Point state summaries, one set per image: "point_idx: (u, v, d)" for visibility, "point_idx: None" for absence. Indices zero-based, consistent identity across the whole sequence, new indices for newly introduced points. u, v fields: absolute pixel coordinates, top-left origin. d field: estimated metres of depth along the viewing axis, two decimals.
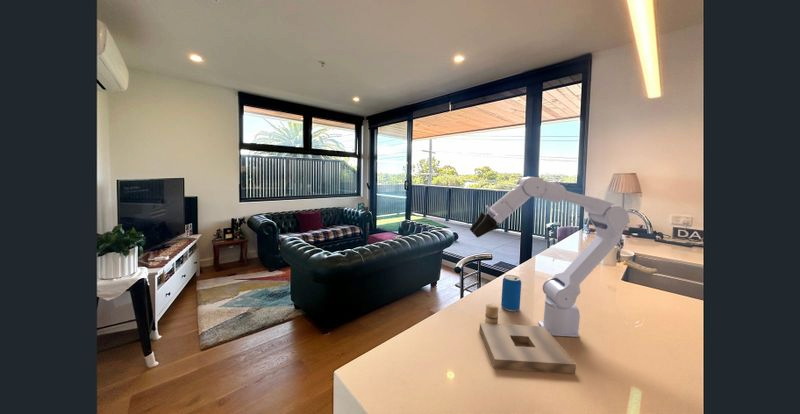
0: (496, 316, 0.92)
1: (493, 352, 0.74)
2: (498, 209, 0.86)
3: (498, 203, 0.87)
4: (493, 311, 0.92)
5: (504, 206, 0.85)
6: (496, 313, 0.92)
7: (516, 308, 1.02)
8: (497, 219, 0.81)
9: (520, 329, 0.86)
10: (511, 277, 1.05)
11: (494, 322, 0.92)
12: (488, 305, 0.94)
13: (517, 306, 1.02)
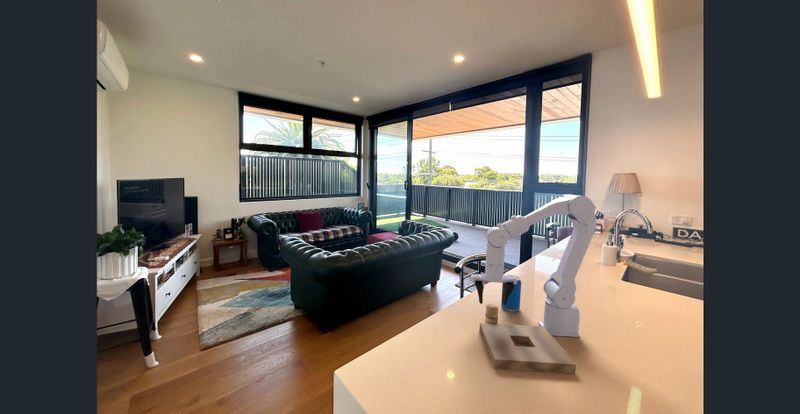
0: (496, 316, 0.92)
1: (493, 352, 0.74)
2: None
3: None
4: (493, 311, 0.92)
5: None
6: (496, 313, 0.92)
7: (516, 308, 1.02)
8: (471, 279, 0.93)
9: (520, 329, 0.86)
10: None
11: (494, 322, 0.92)
12: (488, 305, 0.94)
13: (517, 306, 1.02)
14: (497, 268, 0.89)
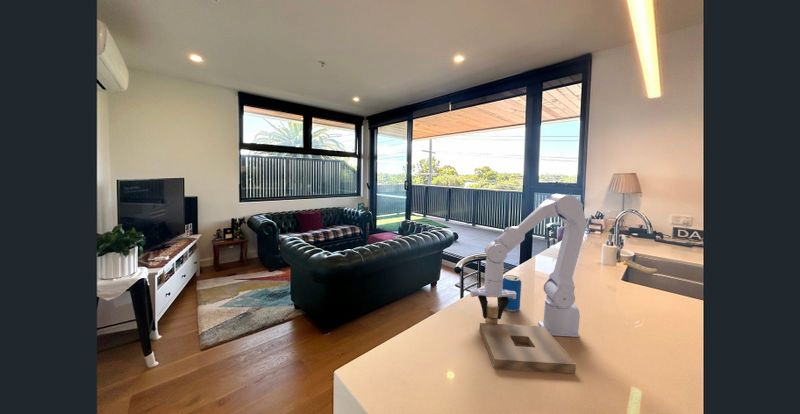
0: (496, 316, 0.92)
1: (493, 352, 0.74)
2: (484, 285, 0.94)
3: None
4: (493, 311, 0.92)
5: None
6: (496, 313, 0.92)
7: (516, 308, 1.02)
8: (470, 294, 0.93)
9: (520, 329, 0.86)
10: (511, 277, 1.05)
11: (494, 322, 0.92)
12: (488, 305, 0.94)
13: (517, 306, 1.02)
14: (496, 283, 0.90)
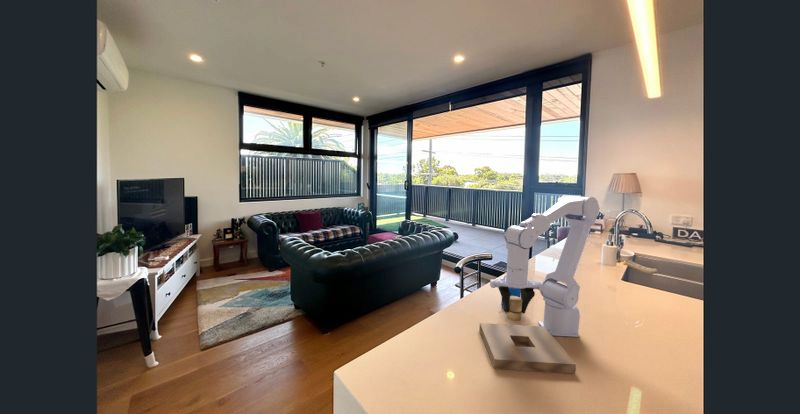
0: (520, 310, 0.81)
1: (493, 352, 0.74)
2: (506, 275, 0.83)
3: None
4: (516, 304, 0.80)
5: None
6: (520, 306, 0.81)
7: None
8: (490, 284, 0.82)
9: (520, 329, 0.86)
10: None
11: (518, 317, 0.81)
12: (510, 297, 0.83)
13: None
14: (521, 272, 0.78)
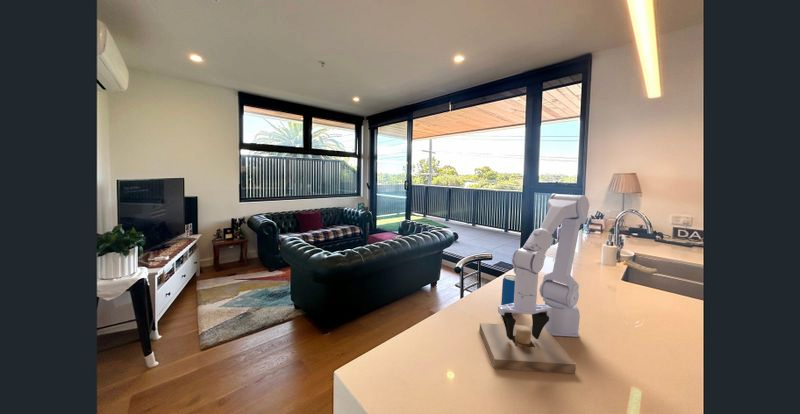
0: (529, 341, 0.78)
1: (493, 352, 0.74)
2: None
3: None
4: (526, 336, 0.77)
5: (514, 294, 0.79)
6: (529, 338, 0.78)
7: None
8: (499, 311, 0.78)
9: None
10: (511, 277, 1.05)
11: None
12: (518, 328, 0.80)
13: None
14: (531, 298, 0.75)
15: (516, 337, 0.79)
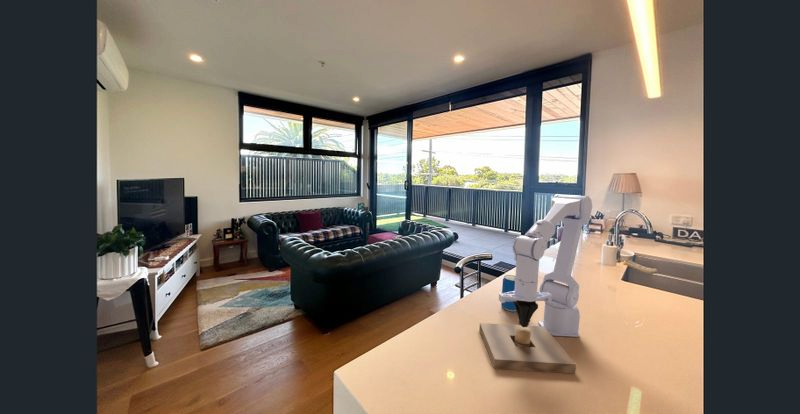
0: (529, 341, 0.78)
1: (493, 352, 0.74)
2: None
3: None
4: (526, 336, 0.77)
5: (515, 282, 0.78)
6: (529, 338, 0.78)
7: None
8: (500, 299, 0.78)
9: None
10: (511, 277, 1.05)
11: None
12: (518, 329, 0.79)
13: None
14: (532, 285, 0.75)
15: (516, 337, 0.79)
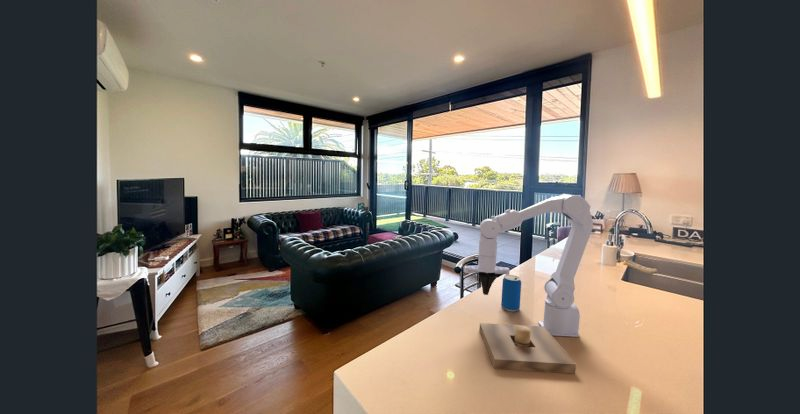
0: (529, 341, 0.78)
1: (493, 352, 0.74)
2: None
3: None
4: (526, 335, 0.77)
5: None
6: (529, 337, 0.78)
7: (516, 308, 1.02)
8: (464, 270, 0.95)
9: None
10: (511, 277, 1.05)
11: None
12: (518, 328, 0.80)
13: (517, 306, 1.02)
14: (490, 259, 0.91)
15: (516, 337, 0.79)
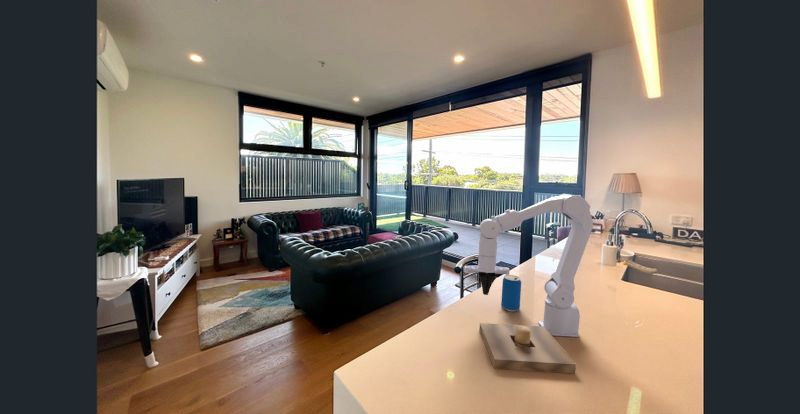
0: (529, 341, 0.78)
1: (493, 352, 0.74)
2: None
3: None
4: (526, 336, 0.77)
5: None
6: (529, 338, 0.78)
7: (516, 308, 1.02)
8: (464, 270, 0.95)
9: None
10: (511, 277, 1.05)
11: None
12: (518, 329, 0.79)
13: (517, 306, 1.02)
14: (489, 259, 0.91)
15: (516, 337, 0.79)
